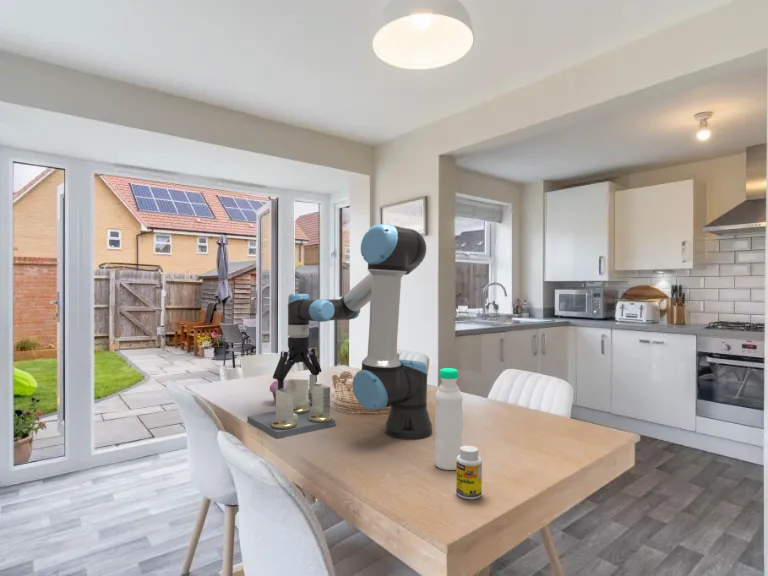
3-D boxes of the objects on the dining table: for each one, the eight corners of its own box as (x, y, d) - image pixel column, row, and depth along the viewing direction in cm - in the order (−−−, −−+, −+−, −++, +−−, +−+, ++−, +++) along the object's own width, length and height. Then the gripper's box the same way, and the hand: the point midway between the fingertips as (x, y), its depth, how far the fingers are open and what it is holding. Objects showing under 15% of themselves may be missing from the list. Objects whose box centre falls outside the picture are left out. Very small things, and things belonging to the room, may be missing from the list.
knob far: (312, 408, 162) (312, 378, 163) (304, 414, 155) (304, 382, 155) (291, 407, 164) (291, 377, 164) (282, 413, 156) (283, 381, 156)
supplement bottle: (451, 496, 97) (451, 449, 97) (462, 487, 102) (462, 442, 102) (475, 503, 94) (475, 454, 94) (485, 493, 98) (485, 447, 99)
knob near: (301, 425, 141) (301, 391, 141) (278, 430, 136) (278, 394, 136) (289, 420, 147) (289, 386, 147) (267, 424, 142) (267, 390, 142)
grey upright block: (337, 419, 149) (337, 386, 149) (316, 423, 143) (317, 389, 144) (324, 414, 155) (324, 382, 155) (304, 418, 150) (304, 385, 150)
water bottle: (429, 465, 114) (429, 368, 115) (446, 458, 119) (446, 365, 120) (451, 473, 109) (451, 372, 110) (468, 466, 114) (468, 369, 115)
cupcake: (272, 407, 172) (272, 382, 172) (267, 403, 180) (267, 378, 180) (295, 405, 176) (295, 380, 176) (289, 400, 184) (289, 376, 184)
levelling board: (335, 425, 149) (335, 414, 149) (277, 438, 135) (277, 425, 135) (301, 411, 166) (301, 401, 166) (247, 421, 153) (247, 410, 153)
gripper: (276, 339, 148) (275, 403, 147) (331, 334, 167) (330, 391, 166) (262, 338, 152) (262, 400, 152) (317, 333, 172) (317, 388, 171)
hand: (298, 395), depth 159 cm, fingers open, 13 cm apart
